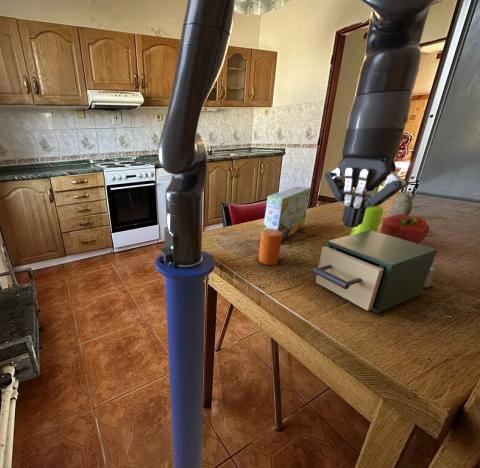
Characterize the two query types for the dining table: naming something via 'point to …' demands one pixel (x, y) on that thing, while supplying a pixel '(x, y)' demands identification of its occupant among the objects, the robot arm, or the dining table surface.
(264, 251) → the spice tin
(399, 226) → the vegetable
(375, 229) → the soap dispenser
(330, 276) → the drawer
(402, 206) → the decorative egg
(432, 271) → the lighter
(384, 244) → the cabinet
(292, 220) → the snack box
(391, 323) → the dining table surface
